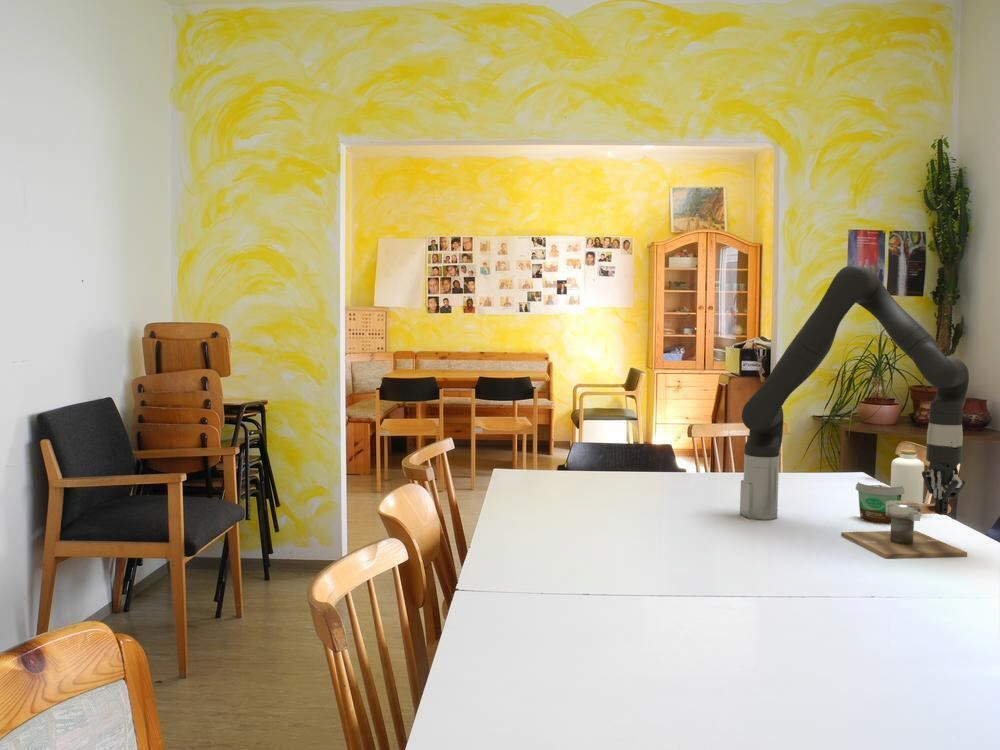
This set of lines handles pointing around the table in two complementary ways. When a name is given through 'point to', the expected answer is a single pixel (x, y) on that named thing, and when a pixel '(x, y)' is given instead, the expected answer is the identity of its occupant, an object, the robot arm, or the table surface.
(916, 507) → the collar
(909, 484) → the potion bottle
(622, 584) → the table surface
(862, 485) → the food container
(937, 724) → the table surface
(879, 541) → the post base
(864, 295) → the robot arm
